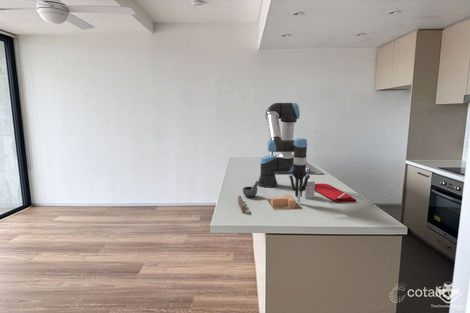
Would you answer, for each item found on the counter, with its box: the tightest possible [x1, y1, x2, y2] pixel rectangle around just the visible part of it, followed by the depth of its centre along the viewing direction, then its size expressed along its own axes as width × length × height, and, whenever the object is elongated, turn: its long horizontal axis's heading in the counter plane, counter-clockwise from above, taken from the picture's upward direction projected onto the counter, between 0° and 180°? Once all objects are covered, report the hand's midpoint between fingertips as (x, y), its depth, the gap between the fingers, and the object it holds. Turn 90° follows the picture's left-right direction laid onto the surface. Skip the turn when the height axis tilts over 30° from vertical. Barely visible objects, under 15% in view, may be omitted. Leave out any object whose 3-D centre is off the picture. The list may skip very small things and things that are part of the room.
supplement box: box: [301, 178, 316, 200], centre depth 194 cm, size 7×7×13 cm
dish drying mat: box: [314, 182, 357, 203], centre depth 207 cm, size 16×41×4 cm, turn 9°
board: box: [237, 195, 303, 214], centre depth 178 cm, size 20×36×4 cm, turn 96°
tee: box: [270, 194, 297, 207], centre depth 179 cm, size 11×13×4 cm
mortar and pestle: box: [242, 180, 259, 199], centre depth 194 cm, size 11×9×12 cm
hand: (298, 201), depth 180 cm, fingers closed
